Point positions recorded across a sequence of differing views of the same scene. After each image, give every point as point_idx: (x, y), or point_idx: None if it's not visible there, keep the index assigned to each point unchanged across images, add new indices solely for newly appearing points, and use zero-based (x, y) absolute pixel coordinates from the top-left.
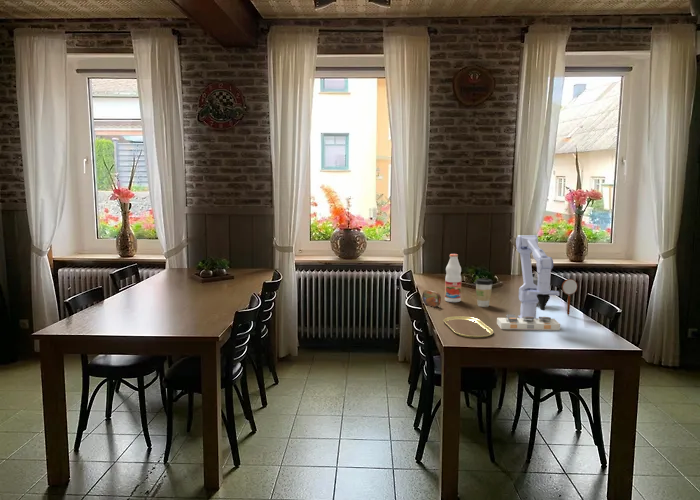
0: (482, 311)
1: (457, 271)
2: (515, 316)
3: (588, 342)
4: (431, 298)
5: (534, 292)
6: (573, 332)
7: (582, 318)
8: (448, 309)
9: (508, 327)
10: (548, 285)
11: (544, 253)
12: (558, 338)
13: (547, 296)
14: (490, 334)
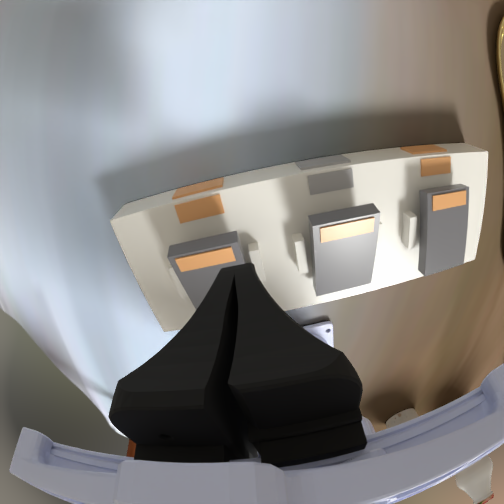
0: (431, 374)
1: (475, 470)
2: (427, 241)
3: (12, 31)
4: None
5: (475, 439)
6: (58, 184)
7: (90, 390)
8: (499, 348)
9: (442, 146)
10: None
11: None
12: (141, 9)
13: (153, 420)
14: (501, 20)
